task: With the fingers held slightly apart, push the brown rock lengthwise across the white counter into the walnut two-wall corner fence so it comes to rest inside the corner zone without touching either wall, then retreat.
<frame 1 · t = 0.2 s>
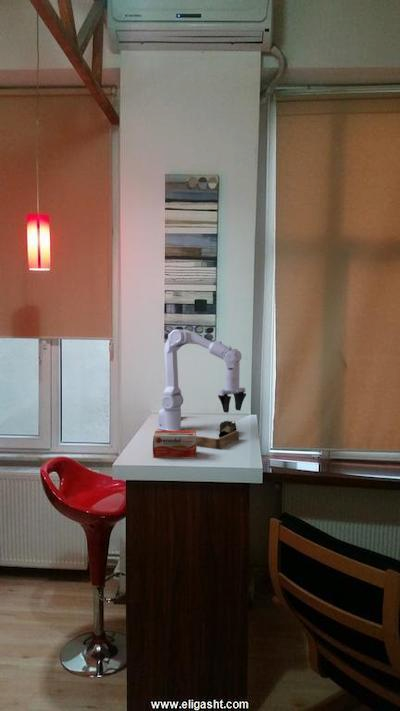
hand: (232, 411, 203), 10 cm above the table, tool pointing down, fingers open, 7 cm apart
corner fence: (213, 441, 193), on the table
brown rock: (226, 437, 203), on the table
medicine box: (175, 455, 173), on the table
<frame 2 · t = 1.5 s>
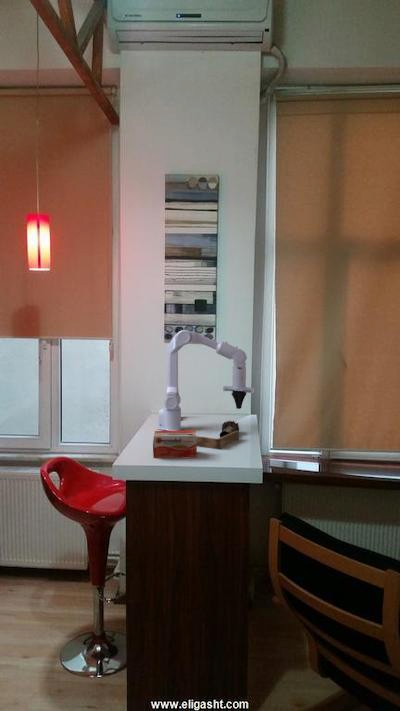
hand: (238, 408, 213), 10 cm above the table, tool pointing down, fingers closed
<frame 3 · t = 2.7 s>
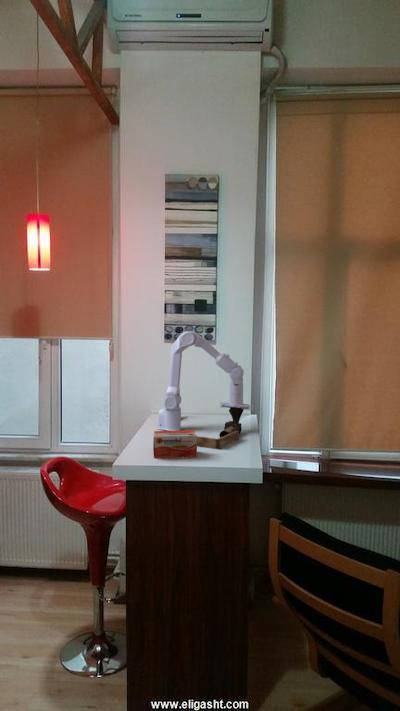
hand: (236, 425, 211), 3 cm above the table, tool pointing down, fingers closed
brown rock: (230, 437, 202), on the table, touching gripper
everything else where it was.
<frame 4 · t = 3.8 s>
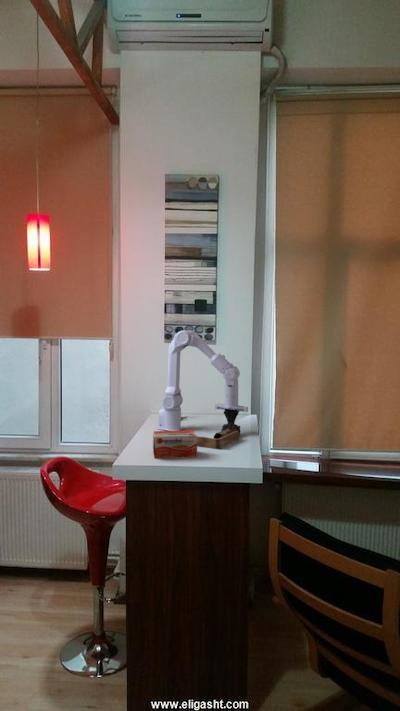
hand: (231, 427, 207), 3 cm above the table, tool pointing down, fingers closed
brown rock: (227, 439, 198), on the table, touching gripper
everything else where it was.
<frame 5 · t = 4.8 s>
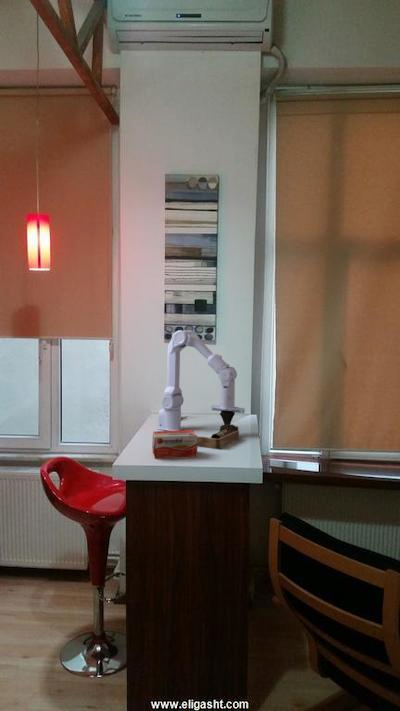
hand: (227, 428, 204), 3 cm above the table, tool pointing down, fingers closed
brown rock: (224, 440, 196), on the table, touching corner fence, gripper
everything else where it was.
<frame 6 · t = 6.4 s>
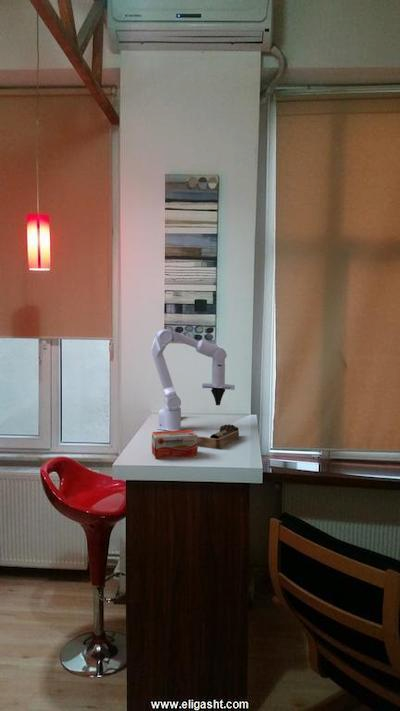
hand: (218, 405, 218), 10 cm above the table, tool pointing down, fingers closed
brown rock: (224, 441, 196), on the table, touching corner fence
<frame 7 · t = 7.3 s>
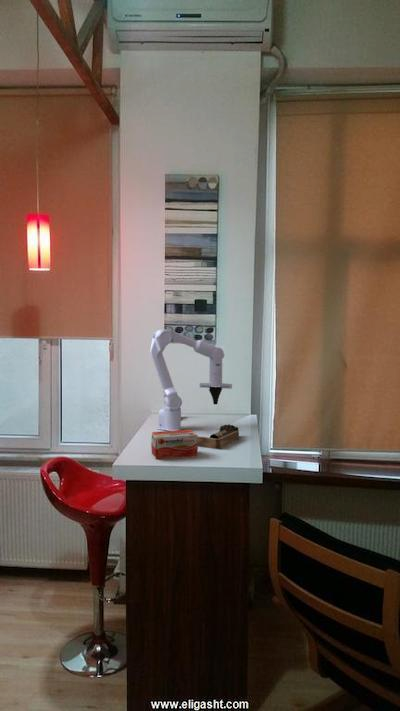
hand: (215, 404, 220), 10 cm above the table, tool pointing down, fingers closed
brown rock: (224, 441, 196), on the table
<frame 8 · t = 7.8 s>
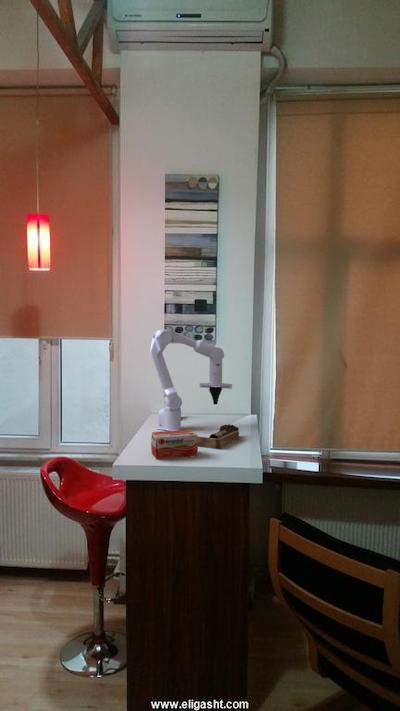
hand: (215, 404, 220), 10 cm above the table, tool pointing down, fingers closed
at the end: brown rock inside the target area (3.5 cm from its centre), on the table; brown rock touching table; brown rock moved 7.0 cm from its start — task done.
